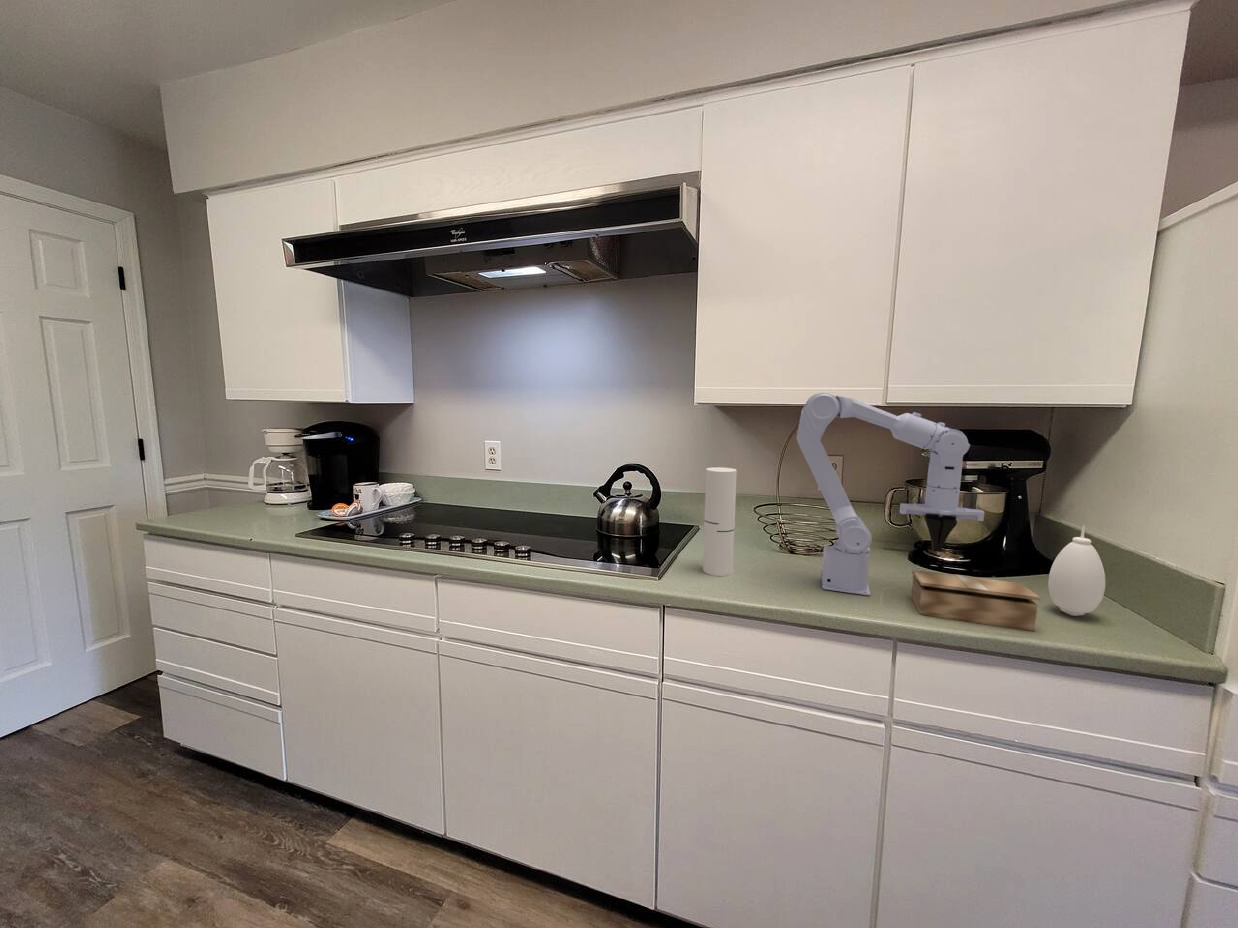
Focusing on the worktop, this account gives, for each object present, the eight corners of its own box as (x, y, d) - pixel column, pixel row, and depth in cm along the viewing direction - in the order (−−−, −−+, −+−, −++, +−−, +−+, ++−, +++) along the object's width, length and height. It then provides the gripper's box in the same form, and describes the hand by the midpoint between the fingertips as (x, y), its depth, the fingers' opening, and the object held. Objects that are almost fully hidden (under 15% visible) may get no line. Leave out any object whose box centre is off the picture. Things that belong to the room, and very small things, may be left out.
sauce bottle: (1068, 604, 100) (1079, 519, 97) (1111, 621, 92) (1124, 529, 90) (1034, 606, 99) (1045, 520, 96) (1075, 624, 91) (1088, 531, 88)
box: (919, 614, 94) (921, 590, 94) (911, 597, 103) (913, 574, 102) (1034, 631, 88) (1037, 605, 87) (1015, 611, 96) (1018, 587, 95)
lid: (921, 585, 94) (921, 581, 93) (911, 572, 102) (912, 569, 102) (1040, 600, 87) (1040, 596, 87) (1018, 585, 96) (1019, 581, 96)
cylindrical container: (708, 564, 123) (711, 466, 119) (736, 569, 119) (740, 468, 116) (698, 572, 117) (701, 470, 113) (727, 578, 113) (731, 472, 110)
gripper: (905, 486, 99) (899, 550, 101) (991, 493, 93) (983, 560, 95) (900, 481, 105) (895, 541, 107) (981, 487, 100) (973, 550, 102)
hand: (936, 550), depth 102 cm, fingers closed
